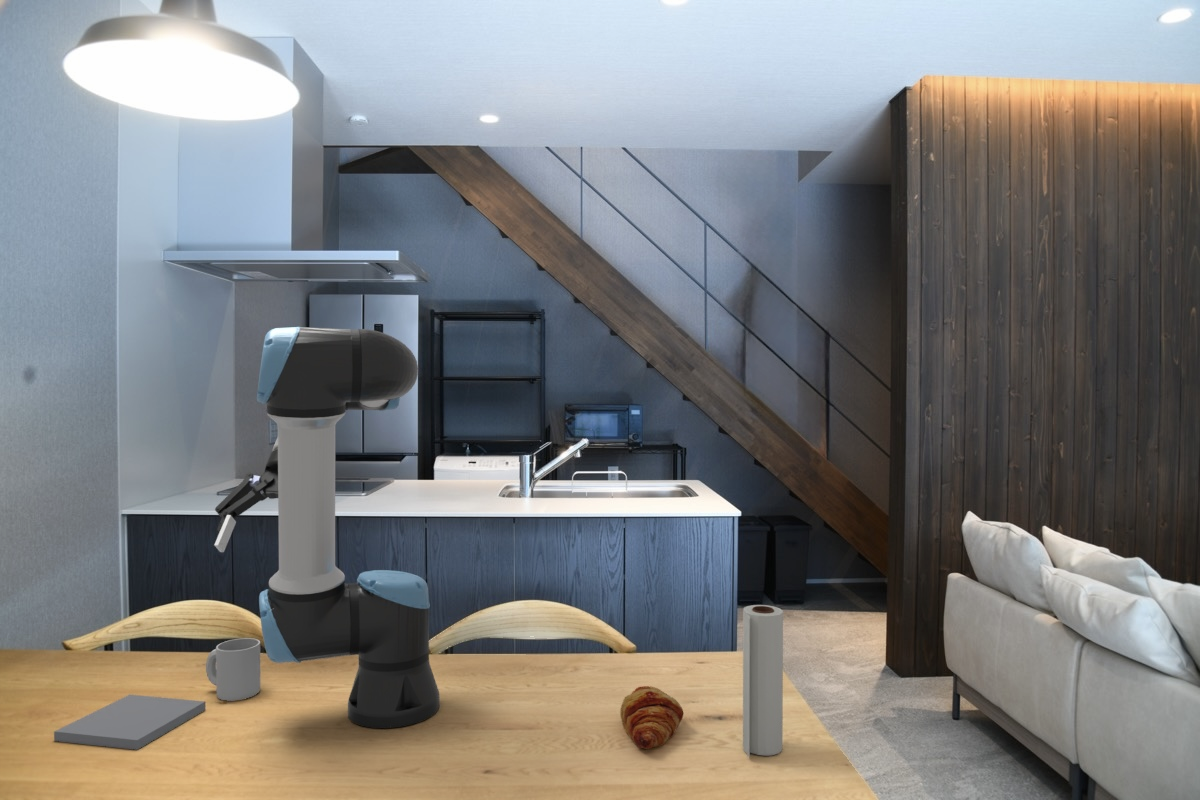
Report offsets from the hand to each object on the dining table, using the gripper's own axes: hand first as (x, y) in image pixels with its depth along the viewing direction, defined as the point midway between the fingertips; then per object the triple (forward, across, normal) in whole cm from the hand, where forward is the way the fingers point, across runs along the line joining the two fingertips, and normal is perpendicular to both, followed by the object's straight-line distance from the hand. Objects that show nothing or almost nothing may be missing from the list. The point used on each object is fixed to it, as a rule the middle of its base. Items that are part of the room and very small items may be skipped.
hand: (253, 551), depth 148 cm
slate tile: (+32, +9, 0) cm, 33 cm away
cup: (+23, 0, -10) cm, 25 cm away
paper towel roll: (+30, -92, +4) cm, 97 cm away
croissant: (+26, -76, -2) cm, 80 cm away
